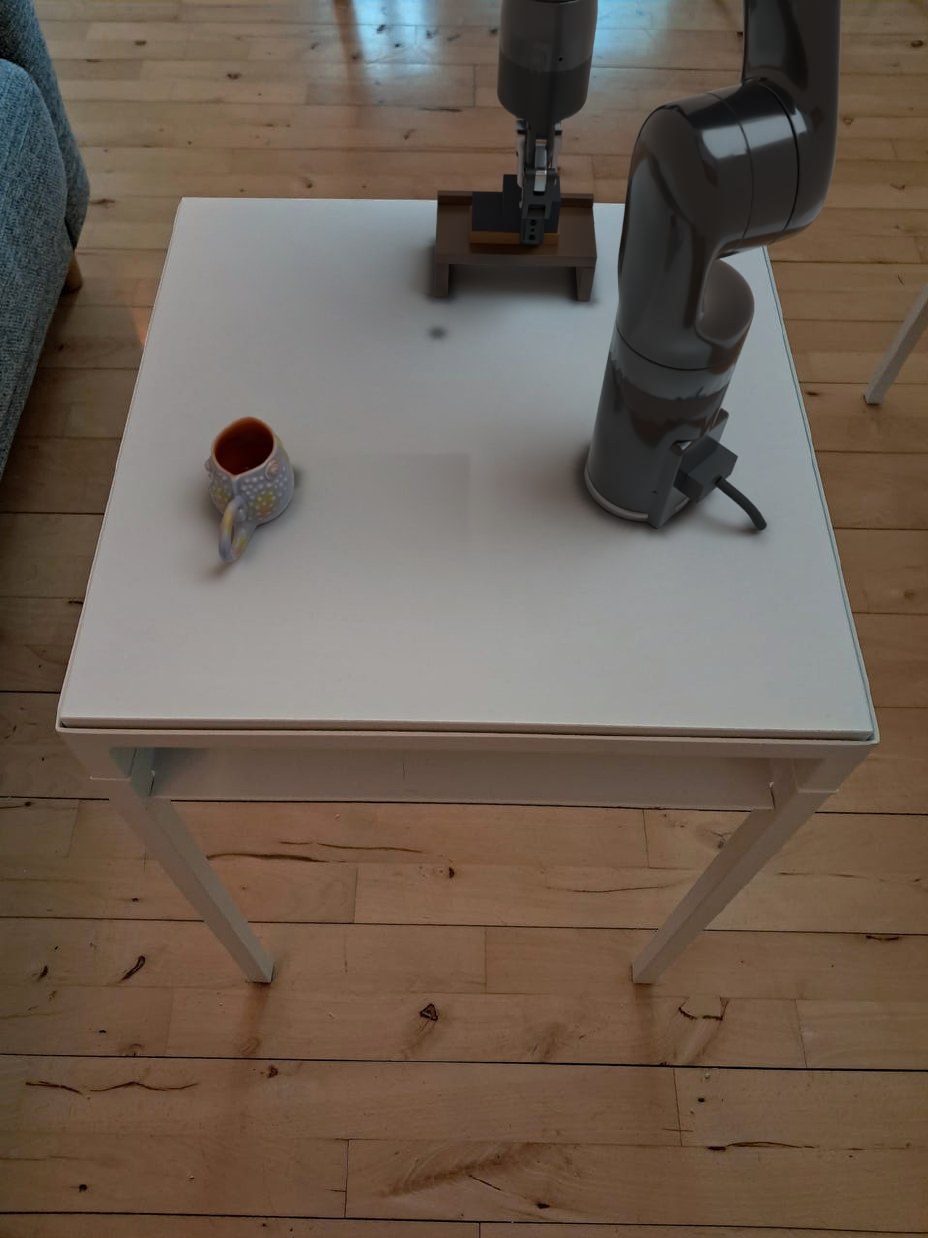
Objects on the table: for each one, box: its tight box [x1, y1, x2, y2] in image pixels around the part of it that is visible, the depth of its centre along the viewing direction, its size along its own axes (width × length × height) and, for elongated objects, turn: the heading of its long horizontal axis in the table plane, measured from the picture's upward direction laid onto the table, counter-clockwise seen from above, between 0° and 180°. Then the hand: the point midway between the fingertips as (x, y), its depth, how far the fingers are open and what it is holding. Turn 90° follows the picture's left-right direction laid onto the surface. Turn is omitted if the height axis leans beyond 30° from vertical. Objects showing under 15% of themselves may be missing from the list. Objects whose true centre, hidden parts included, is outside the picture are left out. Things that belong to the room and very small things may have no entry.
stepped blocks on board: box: [469, 173, 562, 245], centre depth 88 cm, size 8×4×5 cm, turn 89°
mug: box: [204, 415, 295, 563], centre depth 75 cm, size 12×7×7 cm, turn 170°
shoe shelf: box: [434, 189, 598, 302], centre depth 92 cm, size 15×8×6 cm, turn 89°
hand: (530, 226), depth 89 cm, fingers closed on stepped blocks on board, 4 cm apart
